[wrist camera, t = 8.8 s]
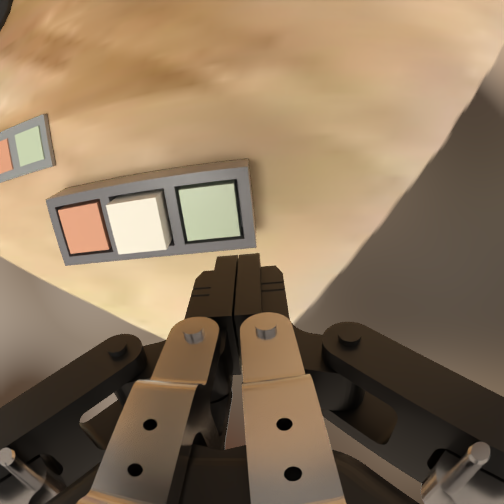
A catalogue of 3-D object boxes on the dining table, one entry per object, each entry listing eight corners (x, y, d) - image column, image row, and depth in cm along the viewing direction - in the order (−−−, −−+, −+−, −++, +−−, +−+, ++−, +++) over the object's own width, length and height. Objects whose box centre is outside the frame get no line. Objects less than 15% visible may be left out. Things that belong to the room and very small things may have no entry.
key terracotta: (71, 201, 25) (58, 210, 23) (108, 194, 25) (96, 202, 23) (82, 242, 27) (70, 253, 25) (119, 237, 27) (109, 249, 25)
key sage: (184, 182, 25) (178, 190, 23) (235, 176, 25) (233, 183, 23) (192, 229, 27) (187, 241, 25) (241, 224, 27) (240, 235, 24)
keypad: (65, 188, 26) (45, 199, 23) (248, 158, 25) (247, 166, 22) (81, 249, 29) (65, 265, 26) (255, 230, 28) (256, 247, 25)
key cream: (117, 196, 24) (105, 205, 22) (164, 188, 24) (155, 197, 22) (128, 241, 26) (118, 254, 24) (173, 236, 26) (166, 249, 23)
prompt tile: (-14, 139, 23) (-18, 140, 23) (47, 113, 23) (42, 114, 22) (-5, 183, 26) (-9, 186, 25) (55, 165, 25) (51, 166, 24)
